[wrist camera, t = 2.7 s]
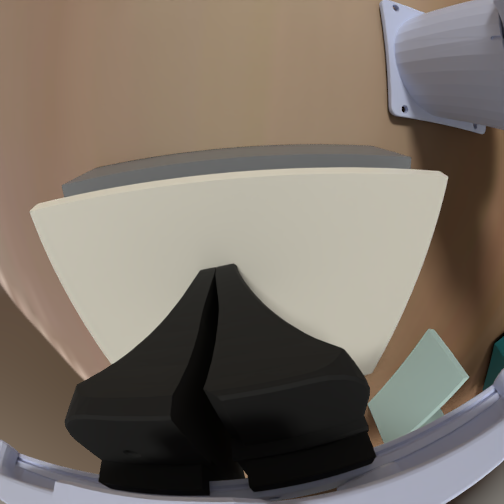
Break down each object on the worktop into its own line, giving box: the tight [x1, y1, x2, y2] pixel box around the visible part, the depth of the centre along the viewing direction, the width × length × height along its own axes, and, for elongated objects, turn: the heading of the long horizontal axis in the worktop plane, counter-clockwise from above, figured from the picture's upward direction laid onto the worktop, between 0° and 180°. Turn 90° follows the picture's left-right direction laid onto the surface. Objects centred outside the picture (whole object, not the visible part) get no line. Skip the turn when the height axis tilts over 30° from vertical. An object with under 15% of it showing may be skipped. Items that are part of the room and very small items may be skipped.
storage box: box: [62, 144, 411, 197], centre depth 16 cm, size 16×14×4 cm
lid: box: [30, 167, 448, 375], centre depth 13 cm, size 16×14×1 cm
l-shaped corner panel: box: [368, 329, 469, 443], centre depth 24 cm, size 12×12×8 cm
